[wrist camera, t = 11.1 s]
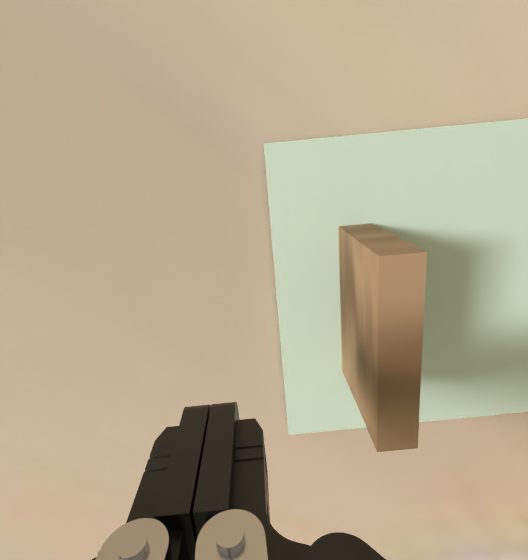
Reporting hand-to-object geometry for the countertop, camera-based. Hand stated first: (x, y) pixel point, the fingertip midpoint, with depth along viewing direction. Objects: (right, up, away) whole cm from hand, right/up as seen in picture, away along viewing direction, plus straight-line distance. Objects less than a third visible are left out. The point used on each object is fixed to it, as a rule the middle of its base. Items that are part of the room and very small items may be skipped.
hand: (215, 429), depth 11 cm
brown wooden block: (+6, +3, +8) cm, 11 cm away
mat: (+9, +4, +9) cm, 13 cm away
